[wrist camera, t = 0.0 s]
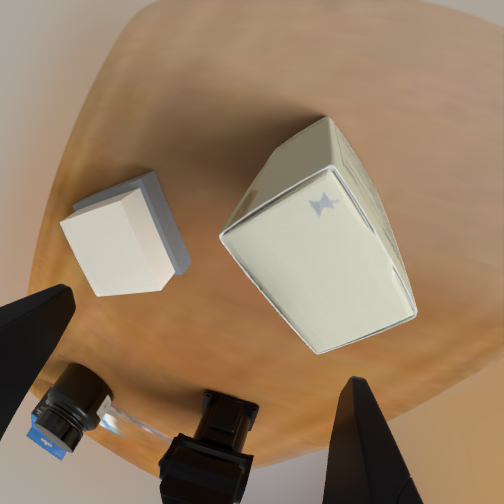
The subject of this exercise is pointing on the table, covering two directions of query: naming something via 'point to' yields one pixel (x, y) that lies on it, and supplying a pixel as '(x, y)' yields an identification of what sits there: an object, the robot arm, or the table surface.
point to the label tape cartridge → (37, 435)
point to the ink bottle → (74, 407)
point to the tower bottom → (158, 213)
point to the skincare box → (320, 242)
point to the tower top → (119, 246)
